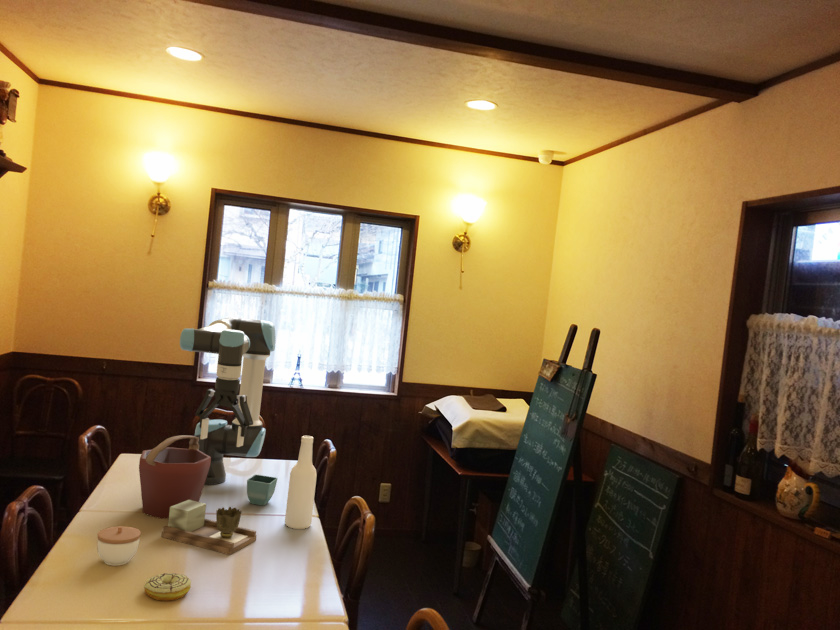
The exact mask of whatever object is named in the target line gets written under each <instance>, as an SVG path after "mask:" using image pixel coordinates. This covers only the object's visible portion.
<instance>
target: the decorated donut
mask: <svg viewBox="0 0 840 630" xmlns="http://www.w3.org/2000/svg"><path fill="white" fill-rule="evenodd" d="M191 583H192V580H191V579H190V577H188V576H187V575H184V574H180V573H173V572H169V573H168V572H166V573H165V572H164V573H160V574H156V575H153V576H151V577H149V578H147V579H146V581H145V582H144V584H143V589H144V593H145V594H146V595H147V596H148V597H150V598H151V599H153V600H156V601H169V602H170V601H176V600H179V599H182V598H183V597H185V595H187V594H188V593H189V591H190V589H191Z"/></svg>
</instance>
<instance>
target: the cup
mask: <svg viewBox="0 0 840 630" xmlns="http://www.w3.org/2000/svg"><path fill="white" fill-rule="evenodd" d="M215 513H216V517H215V518H216V524H217V528H218V530H219V531H220V532H221V533H220V535H221V537H223V538H230V537H232V535H233V532H234V531H235V530H236V529H237V528H238V527H239V525H240V521H241V516H242V510H241V509H240V508H239V509H238V508H237V507H231V506H229V507H228V508H227V509H225V507H224V506H222V508H220V507H219V508H217V509H216V511H215Z"/></svg>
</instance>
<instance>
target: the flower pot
mask: <svg viewBox="0 0 840 630" xmlns="http://www.w3.org/2000/svg"><path fill="white" fill-rule="evenodd" d="M277 482H278V477H274V476H268V475H262V474H254V475H252V476H251V477H250V478H248V479H247V480H246V494H247V499H248V501H249V503H250V504H252V505H256V506H257V505H258V506H262V505H263V506H266V505H267V504H268V503H269V502H270V500H271V499H272V498H273V495H274V493H275V490H276V486H277Z"/></svg>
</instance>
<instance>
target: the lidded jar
mask: <svg viewBox="0 0 840 630" xmlns="http://www.w3.org/2000/svg"><path fill="white" fill-rule="evenodd" d="M141 535H142V532H141V531H140V529H138V528H135V527H132V526H123V525H120V526H119V525H118V526H117V525H116V526H110V527H106V528H103V529H102V530H100V531H98V532H97V543H96V546H97V547H96V548H97V553H98V556H99V558H100V559H101V560H102V561H103V563H104V564H105V565H107V566H114V567H115V566H123V565H126V564H128V563H129V562H130V560H131V559H132V558H133V557H134V556H136V553H137V552H138V548H139V545H140V539H141Z"/></svg>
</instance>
